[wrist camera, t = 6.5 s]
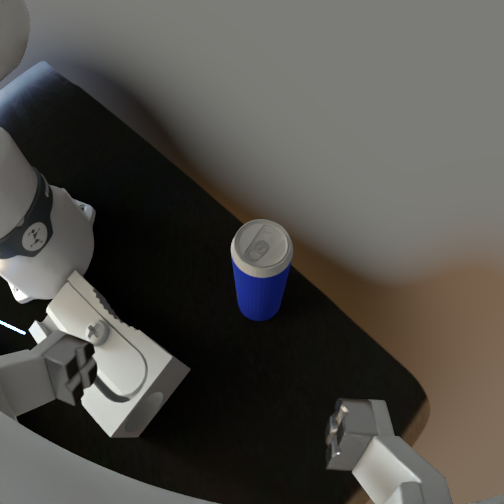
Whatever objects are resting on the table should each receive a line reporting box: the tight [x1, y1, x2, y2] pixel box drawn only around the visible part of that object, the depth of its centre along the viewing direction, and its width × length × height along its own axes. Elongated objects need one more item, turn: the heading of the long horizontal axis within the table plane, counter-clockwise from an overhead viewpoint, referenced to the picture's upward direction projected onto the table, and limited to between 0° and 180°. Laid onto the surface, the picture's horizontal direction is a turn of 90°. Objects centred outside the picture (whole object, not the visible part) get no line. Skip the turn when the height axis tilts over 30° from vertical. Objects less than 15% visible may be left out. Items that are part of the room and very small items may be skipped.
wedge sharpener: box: [29, 270, 191, 437], centre depth 33 cm, size 11×20×7 cm, turn 55°
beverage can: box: [231, 219, 293, 321], centre depth 33 cm, size 5×5×15 cm
